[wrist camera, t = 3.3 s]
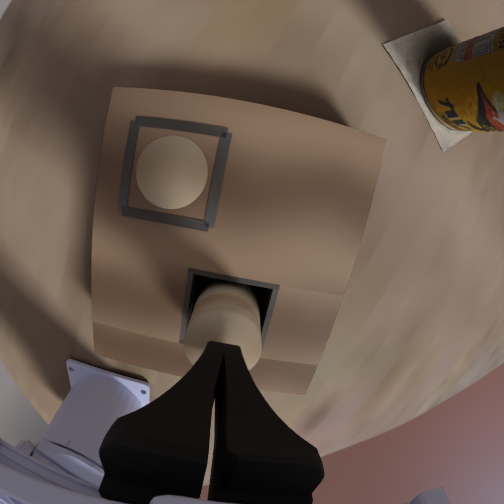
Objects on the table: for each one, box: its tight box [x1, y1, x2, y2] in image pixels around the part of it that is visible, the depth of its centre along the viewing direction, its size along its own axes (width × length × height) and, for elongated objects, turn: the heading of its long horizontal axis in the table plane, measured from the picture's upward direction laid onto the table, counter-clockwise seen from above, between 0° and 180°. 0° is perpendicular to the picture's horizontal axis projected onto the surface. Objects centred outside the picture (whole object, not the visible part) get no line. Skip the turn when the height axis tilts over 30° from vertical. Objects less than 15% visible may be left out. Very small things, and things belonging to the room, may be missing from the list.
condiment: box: [383, 20, 504, 152], centre depth 10 cm, size 7×8×12 cm
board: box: [91, 87, 386, 395], centre depth 17 cm, size 16×14×4 cm
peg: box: [183, 279, 262, 370], centre depth 15 cm, size 4×4×4 cm
